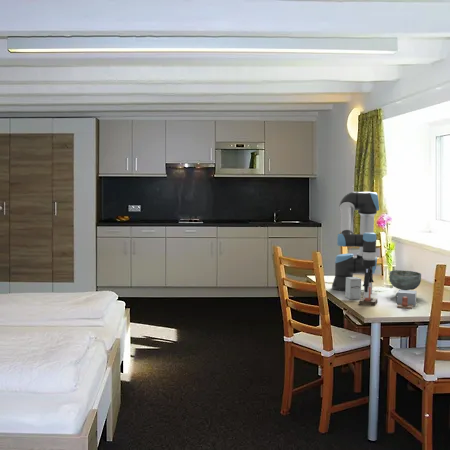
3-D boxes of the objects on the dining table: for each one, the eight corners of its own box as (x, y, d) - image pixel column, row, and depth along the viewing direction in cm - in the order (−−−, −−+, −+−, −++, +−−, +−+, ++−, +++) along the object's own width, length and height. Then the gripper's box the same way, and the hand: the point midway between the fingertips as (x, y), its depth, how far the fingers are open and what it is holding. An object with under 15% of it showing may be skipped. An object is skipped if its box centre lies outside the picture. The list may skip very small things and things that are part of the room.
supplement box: (349, 299, 381) (350, 278, 380) (344, 297, 388) (345, 276, 387) (361, 299, 383) (361, 278, 382) (356, 296, 390) (356, 276, 389)
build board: (361, 301, 377) (362, 297, 377) (377, 302, 374) (377, 298, 373) (359, 304, 366) (359, 300, 366) (374, 305, 363) (374, 302, 363)
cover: (398, 301, 378) (399, 289, 377) (416, 302, 374) (416, 290, 374) (397, 304, 368) (397, 292, 368) (414, 305, 365) (415, 293, 364)
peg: (365, 303, 370) (365, 286, 369) (370, 303, 368) (371, 287, 368) (364, 304, 367) (364, 287, 366) (369, 305, 365) (370, 287, 365)
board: (398, 305, 366) (398, 294, 366) (412, 306, 363) (413, 295, 363) (397, 307, 359) (397, 297, 358) (411, 308, 356) (412, 298, 356)
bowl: (399, 299, 382) (399, 275, 381) (382, 294, 401) (383, 270, 399) (427, 298, 387) (428, 274, 386) (410, 292, 406) (411, 269, 405)
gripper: (365, 256, 378) (364, 291, 380) (359, 261, 355) (358, 298, 357) (378, 257, 376) (377, 292, 377) (372, 262, 353) (371, 299, 354)
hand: (367, 295), depth 367 cm, fingers open, 13 cm apart
